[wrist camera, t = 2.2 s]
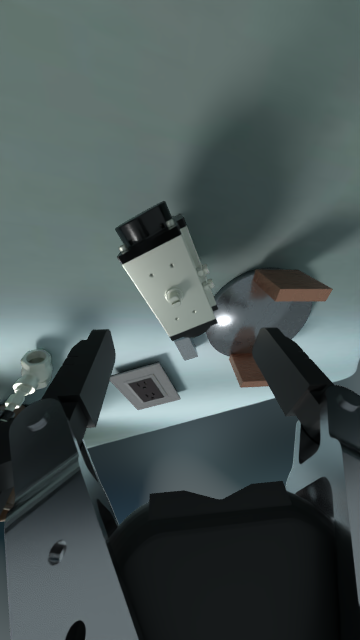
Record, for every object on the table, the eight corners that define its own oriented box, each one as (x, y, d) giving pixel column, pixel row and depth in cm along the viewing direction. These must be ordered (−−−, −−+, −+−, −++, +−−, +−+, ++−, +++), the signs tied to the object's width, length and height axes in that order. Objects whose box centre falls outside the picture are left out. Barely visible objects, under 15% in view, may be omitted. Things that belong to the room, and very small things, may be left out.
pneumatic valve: (173, 298, 27) (179, 358, 17) (128, 218, 20) (97, 240, 10) (207, 283, 26) (234, 338, 16) (172, 193, 19) (182, 192, 9)
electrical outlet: (179, 390, 42) (180, 400, 40) (138, 401, 43) (137, 411, 41) (159, 355, 34) (159, 364, 32) (110, 369, 35) (107, 379, 33)
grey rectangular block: (173, 332, 31) (174, 342, 29) (187, 327, 30) (188, 337, 28) (183, 350, 34) (184, 360, 31) (195, 346, 33) (197, 356, 31)
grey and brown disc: (212, 265, 24) (229, 288, 18) (326, 266, 26) (378, 289, 19) (199, 354, 34) (207, 389, 28) (281, 351, 36) (306, 384, 30)
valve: (64, 351, 31) (20, 423, 21) (64, 374, 34) (25, 445, 25) (20, 343, 29) (-50, 418, 19) (24, 368, 33) (-34, 442, 23)
